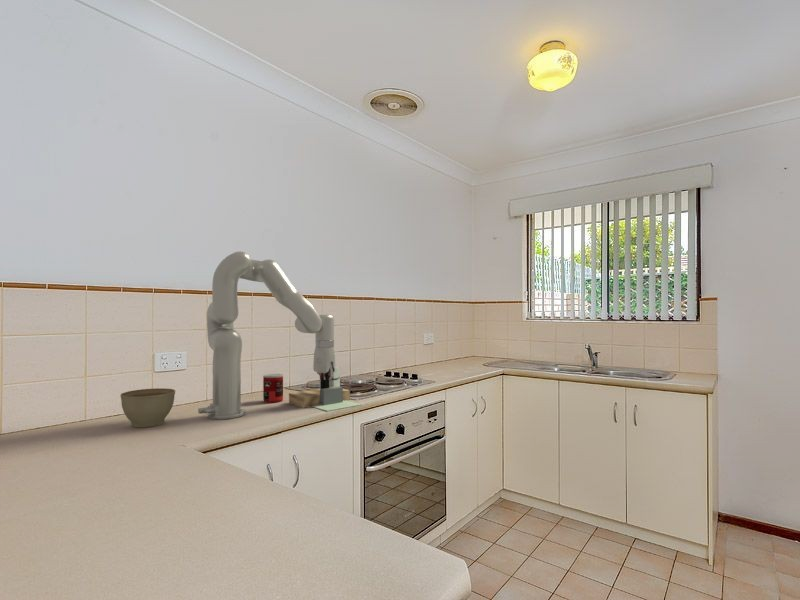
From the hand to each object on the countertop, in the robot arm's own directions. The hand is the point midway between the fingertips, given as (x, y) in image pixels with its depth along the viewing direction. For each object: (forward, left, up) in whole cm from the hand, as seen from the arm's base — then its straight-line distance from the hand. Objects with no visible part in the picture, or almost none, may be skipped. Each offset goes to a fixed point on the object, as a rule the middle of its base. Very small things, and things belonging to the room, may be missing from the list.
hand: (324, 389), depth 183 cm
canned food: (-14, +18, -6) cm, 23 cm away
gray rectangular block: (0, -4, -2) cm, 5 cm away
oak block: (0, +4, -6) cm, 7 cm away
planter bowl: (-62, +12, -6) cm, 63 cm away
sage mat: (0, -9, -6) cm, 10 cm away
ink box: (+14, +18, -6) cm, 23 cm away
